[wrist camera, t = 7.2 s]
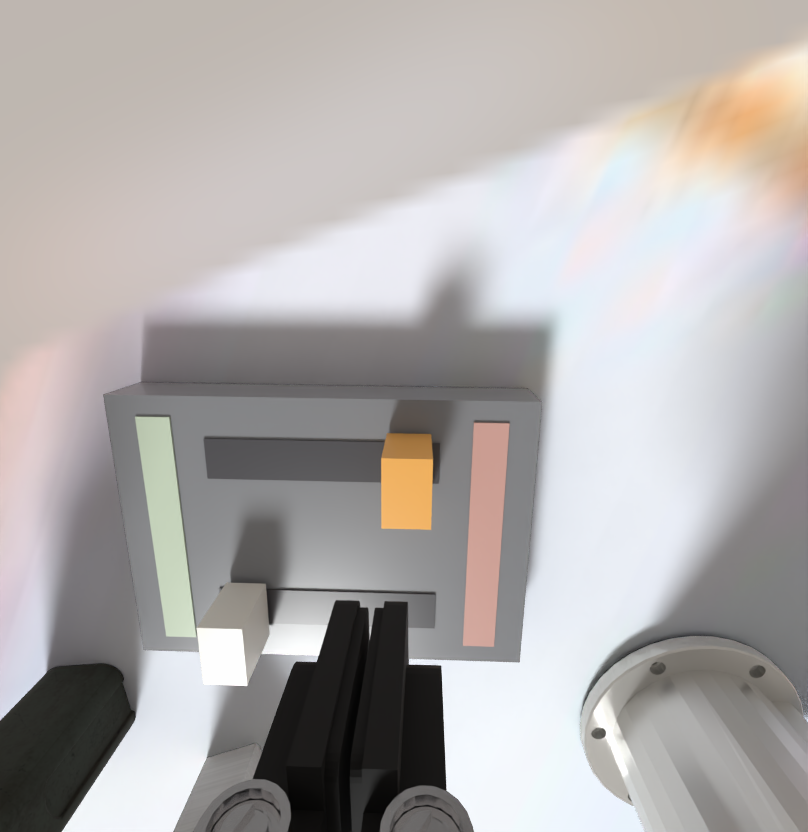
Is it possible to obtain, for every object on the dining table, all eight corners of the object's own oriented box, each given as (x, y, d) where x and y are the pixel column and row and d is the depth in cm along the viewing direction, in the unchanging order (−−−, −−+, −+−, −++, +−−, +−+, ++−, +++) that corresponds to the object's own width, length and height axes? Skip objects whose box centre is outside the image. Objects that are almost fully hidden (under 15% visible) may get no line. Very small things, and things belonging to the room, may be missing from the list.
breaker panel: (527, 388, 24) (566, 424, 18) (509, 623, 28) (535, 723, 21) (140, 382, 25) (43, 414, 18) (172, 613, 28) (100, 707, 22)
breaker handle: (431, 433, 21) (433, 459, 18) (429, 494, 22) (431, 529, 19) (387, 433, 22) (381, 458, 18) (386, 494, 22) (381, 528, 19)
